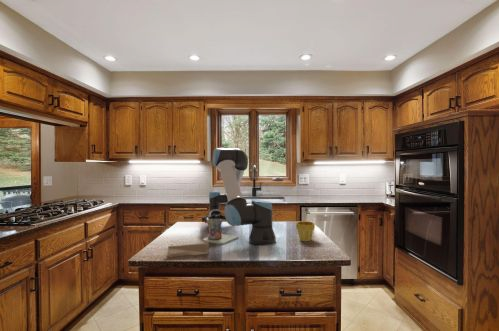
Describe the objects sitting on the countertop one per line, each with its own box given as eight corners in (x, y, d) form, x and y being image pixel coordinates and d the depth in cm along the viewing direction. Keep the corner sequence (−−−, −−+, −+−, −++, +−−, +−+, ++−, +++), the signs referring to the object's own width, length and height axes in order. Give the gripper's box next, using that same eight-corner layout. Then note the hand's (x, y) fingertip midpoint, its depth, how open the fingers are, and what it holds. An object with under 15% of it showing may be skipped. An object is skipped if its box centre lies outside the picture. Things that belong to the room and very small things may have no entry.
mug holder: (170, 246, 151) (170, 236, 151) (206, 243, 155) (206, 234, 155) (168, 256, 133) (168, 246, 133) (208, 253, 137) (208, 243, 137)
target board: (238, 238, 164) (238, 236, 164) (223, 244, 152) (223, 242, 152) (219, 235, 172) (219, 233, 172) (202, 240, 160) (202, 239, 160)
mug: (223, 239, 157) (222, 221, 157) (206, 240, 156) (206, 222, 156) (222, 234, 169) (222, 217, 169) (207, 235, 168) (206, 218, 168)
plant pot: (313, 243, 153) (313, 225, 152) (295, 241, 156) (294, 224, 156) (315, 238, 162) (315, 221, 162) (297, 236, 166) (297, 220, 166)
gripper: (233, 219, 194) (239, 226, 173) (197, 221, 189) (198, 228, 168) (233, 208, 194) (238, 214, 173) (197, 210, 189) (198, 216, 168)
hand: (219, 221), depth 170 cm, fingers open, 13 cm apart
